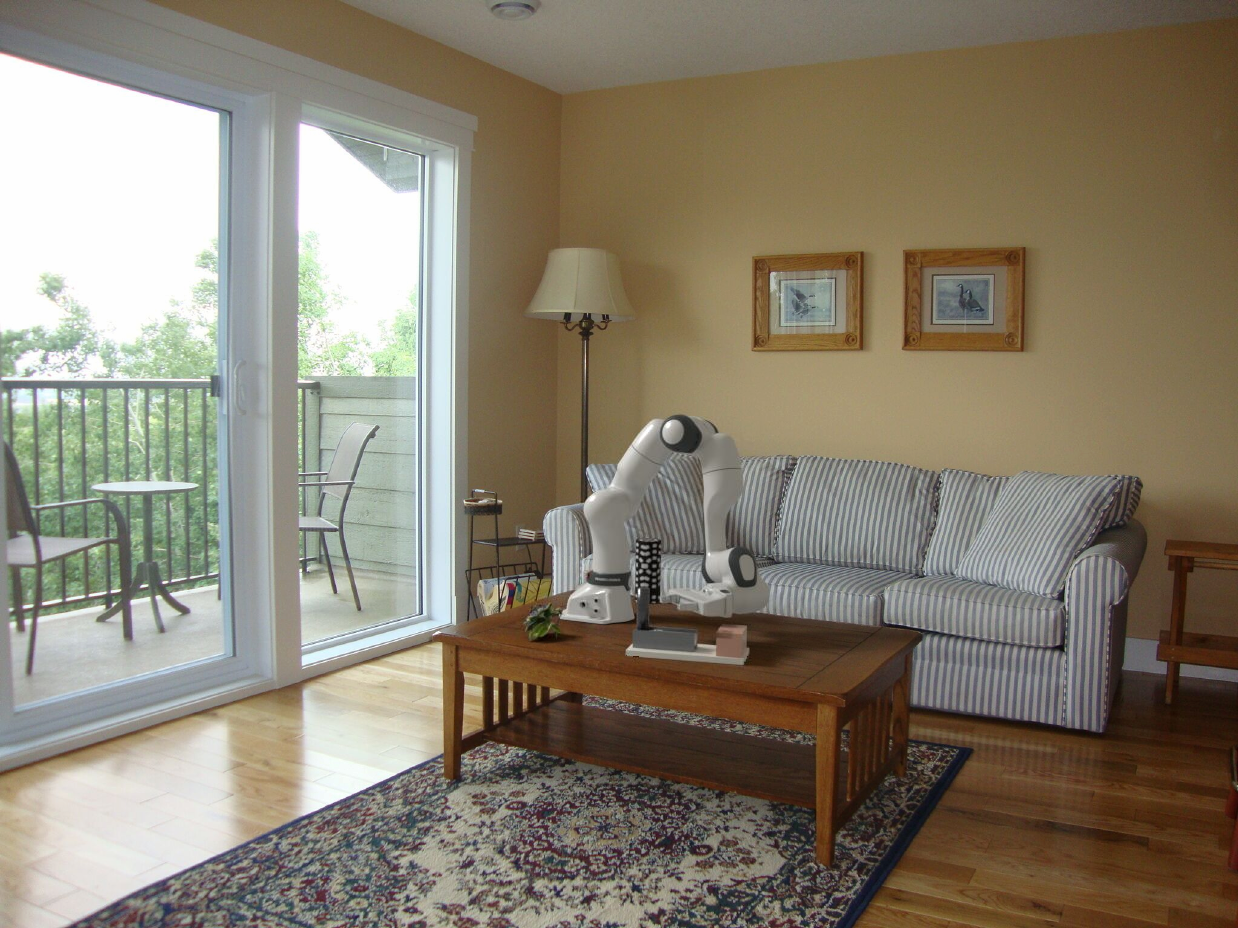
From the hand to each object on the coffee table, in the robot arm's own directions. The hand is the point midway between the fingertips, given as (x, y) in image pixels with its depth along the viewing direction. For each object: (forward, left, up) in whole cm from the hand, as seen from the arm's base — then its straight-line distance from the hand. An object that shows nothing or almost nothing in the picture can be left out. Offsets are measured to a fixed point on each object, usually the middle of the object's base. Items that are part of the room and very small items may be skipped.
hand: (669, 603), depth 265 cm
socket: (+17, -5, -10) cm, 21 cm away
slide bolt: (0, -5, -9) cm, 11 cm away
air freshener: (-36, +53, -12) cm, 65 cm away
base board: (+6, -5, -12) cm, 14 cm away
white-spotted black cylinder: (-19, +59, -12) cm, 63 cm away
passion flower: (-35, +2, -12) cm, 37 cm away
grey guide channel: (0, -5, -10) cm, 12 cm away
